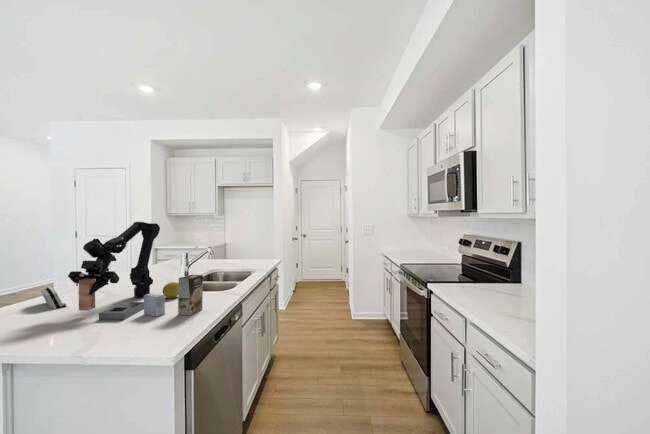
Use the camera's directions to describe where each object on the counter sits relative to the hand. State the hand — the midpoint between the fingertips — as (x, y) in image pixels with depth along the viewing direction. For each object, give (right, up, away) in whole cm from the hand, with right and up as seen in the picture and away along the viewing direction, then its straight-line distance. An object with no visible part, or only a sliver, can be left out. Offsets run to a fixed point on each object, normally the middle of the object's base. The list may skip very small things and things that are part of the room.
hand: (84, 294), depth 133 cm
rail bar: (+12, -10, +5) cm, 17 cm away
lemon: (+21, -10, +33) cm, 41 cm away
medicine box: (+26, -10, +6) cm, 29 cm away
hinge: (-28, -10, +18) cm, 35 cm away
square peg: (0, -7, +1) cm, 7 cm away
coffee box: (+40, -10, +9) cm, 43 cm away
